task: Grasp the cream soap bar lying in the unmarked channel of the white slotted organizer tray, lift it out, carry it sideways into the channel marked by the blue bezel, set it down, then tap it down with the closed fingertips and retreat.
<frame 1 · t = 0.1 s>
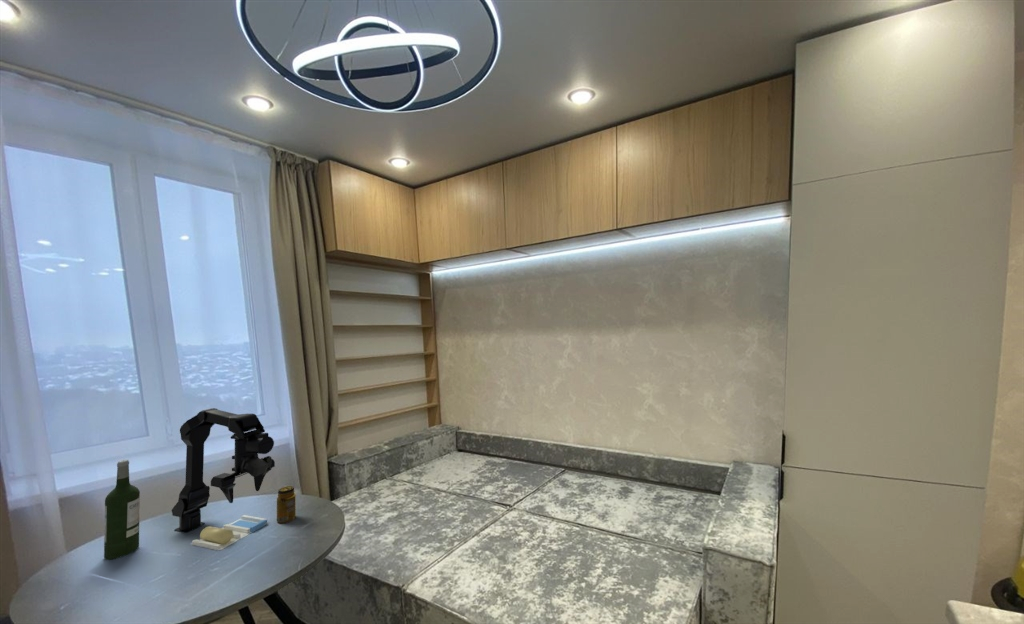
hand: (244, 496, 127), 14 cm above the table, fingers open, 9 cm apart
wine bottle: (121, 553, 120), on the table
cream soap bar: (216, 540, 125), resting on white slotted organizer tray
white slotted organizer tray: (231, 534, 130), on the table
condiment: (286, 522, 137), on the table
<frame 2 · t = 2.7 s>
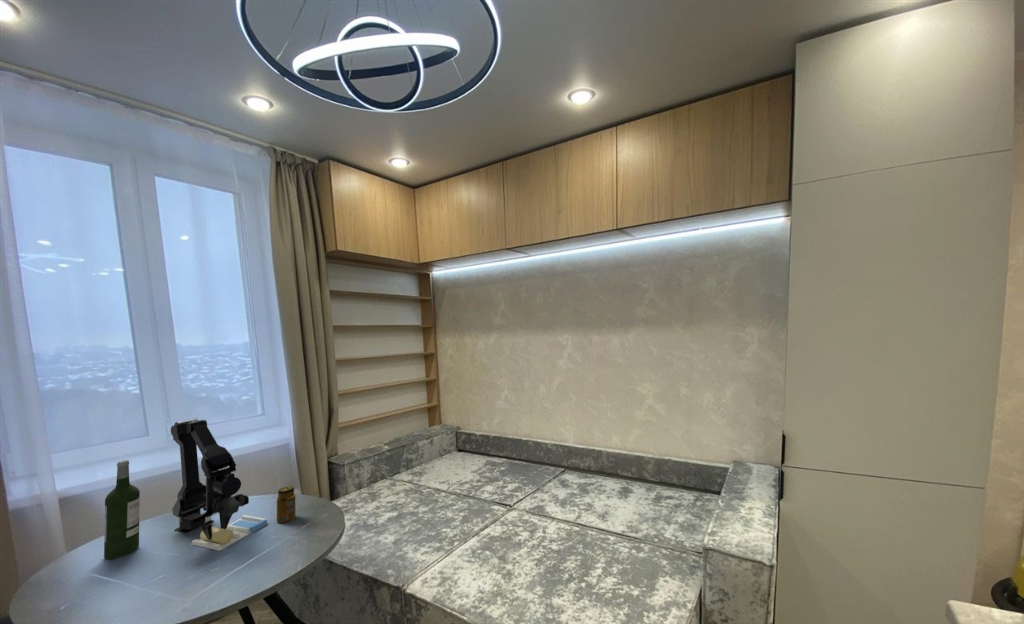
hand: (216, 536, 125), 2 cm above the table, fingers closed on cream soap bar, 4 cm apart
cream soap bar: (216, 540, 125), resting on white slotted organizer tray, touching gripper
everything else where it was.
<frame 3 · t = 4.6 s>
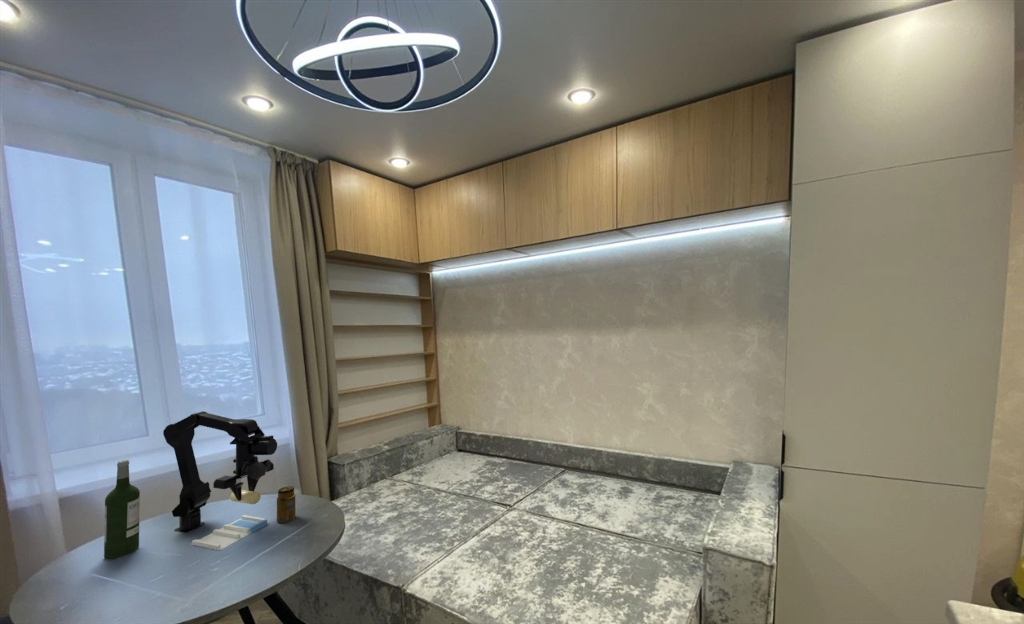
hand: (245, 497, 135), 10 cm above the table, fingers closed on cream soap bar, 4 cm apart
cream soap bar: (245, 502, 135), point 9 cm above the table, touching gripper
everything else where it was.
when the fingers open (3 cm above the table, at t = 6.6 s): cream soap bar stays where it is, resting on white slotted organizer tray.
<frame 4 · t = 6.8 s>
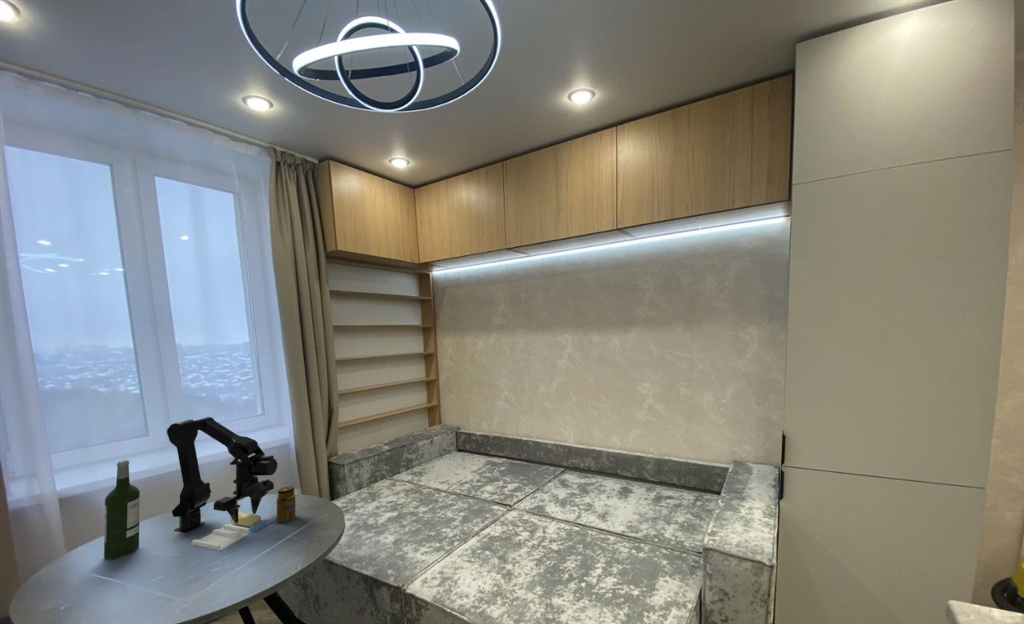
hand: (245, 518, 134), 3 cm above the table, fingers open, 6 cm apart
cream soap bar: (245, 525, 134), resting on white slotted organizer tray
everything else where it was.
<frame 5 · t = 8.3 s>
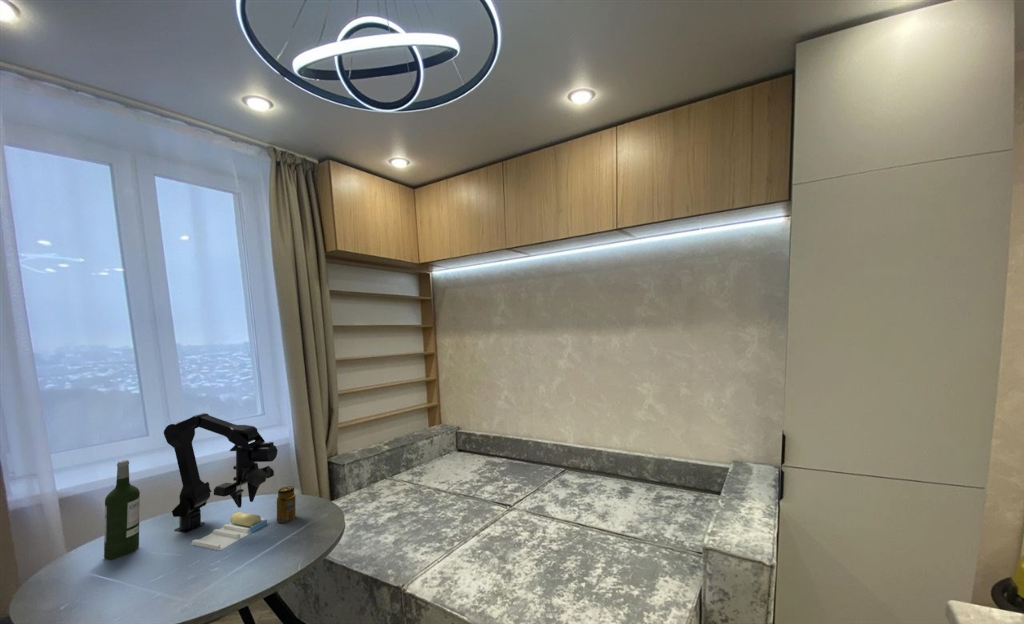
hand: (245, 504, 135), 8 cm above the table, fingers open, 4 cm apart
nothing on the table moved.
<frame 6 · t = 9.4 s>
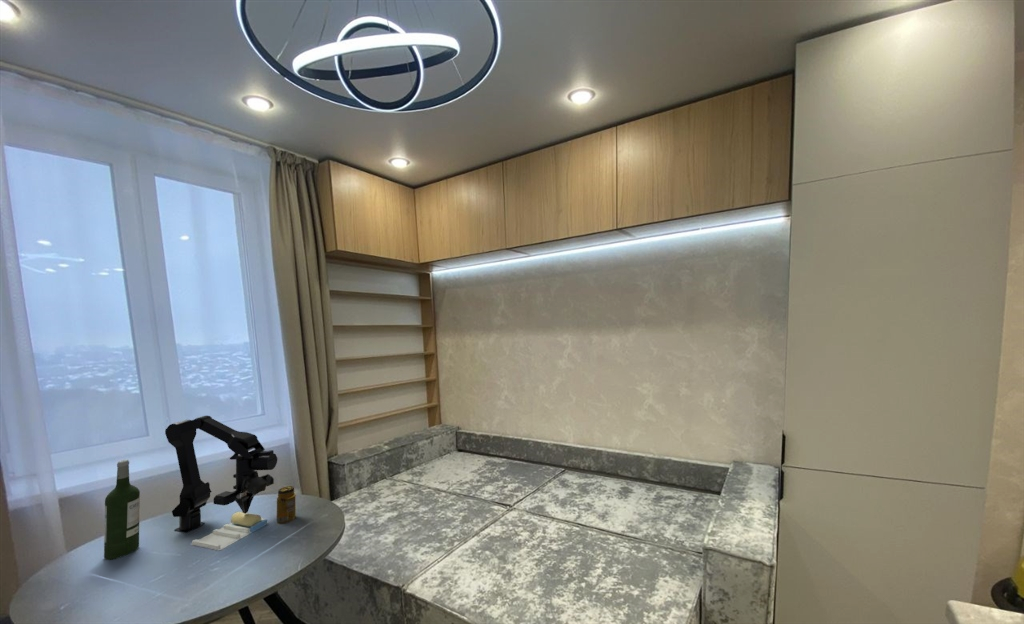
hand: (245, 512, 135), 5 cm above the table, fingers closed
nothing on the table moved.
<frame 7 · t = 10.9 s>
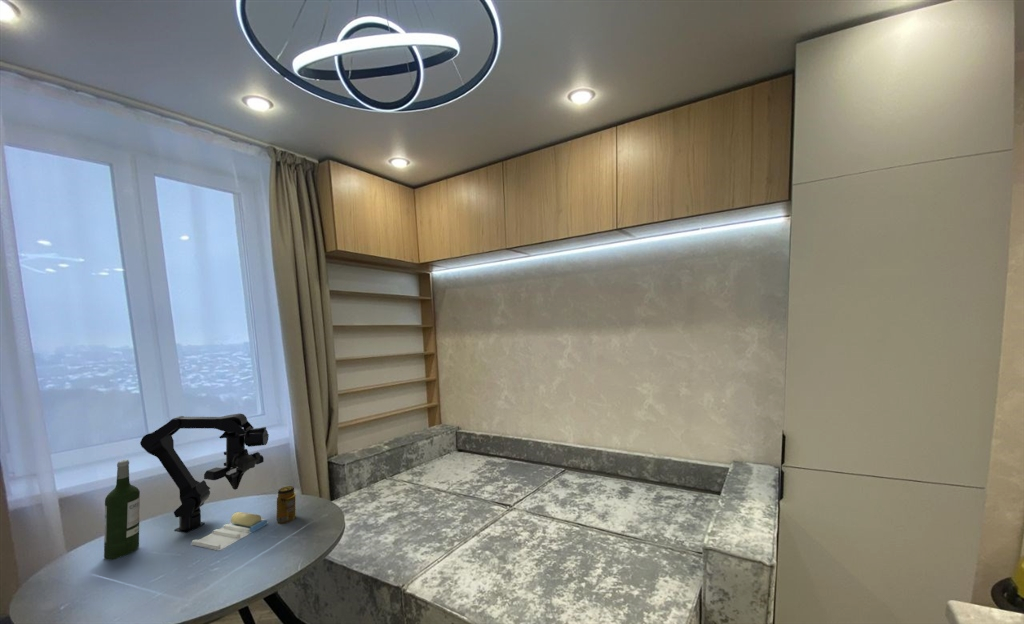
hand: (235, 489, 139), 12 cm above the table, fingers closed
nothing on the table moved.
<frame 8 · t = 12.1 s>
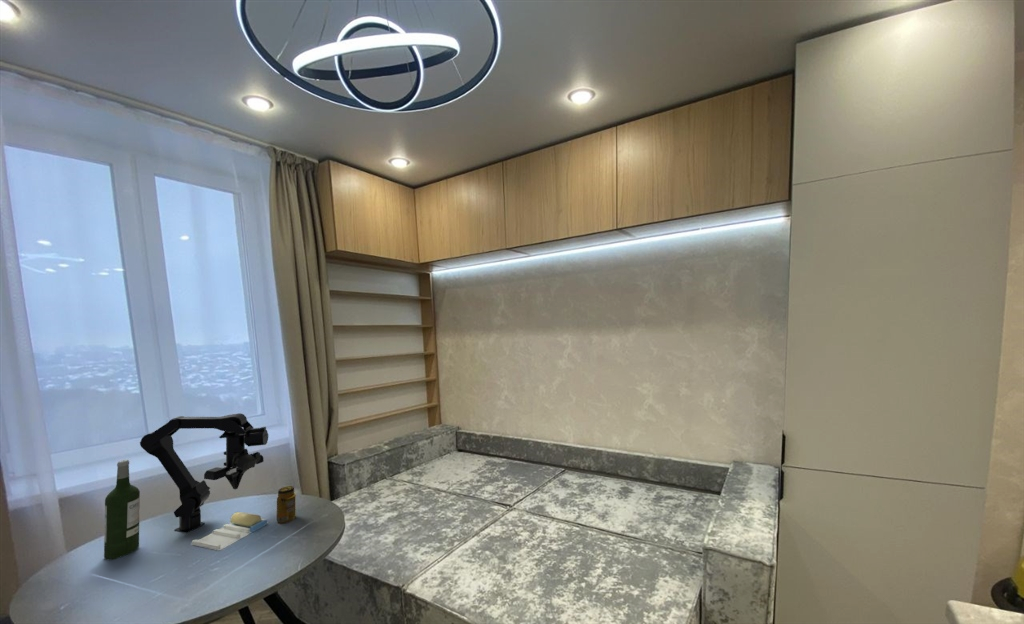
hand: (235, 489, 139), 12 cm above the table, fingers closed
nothing on the table moved.
at the end: cream soap bar inside the target area on the white slotted organizer tray (0.0 cm from its centre), point 0.5 cm above the white slotted organizer tray's base; the gripper is holding nothing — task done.
